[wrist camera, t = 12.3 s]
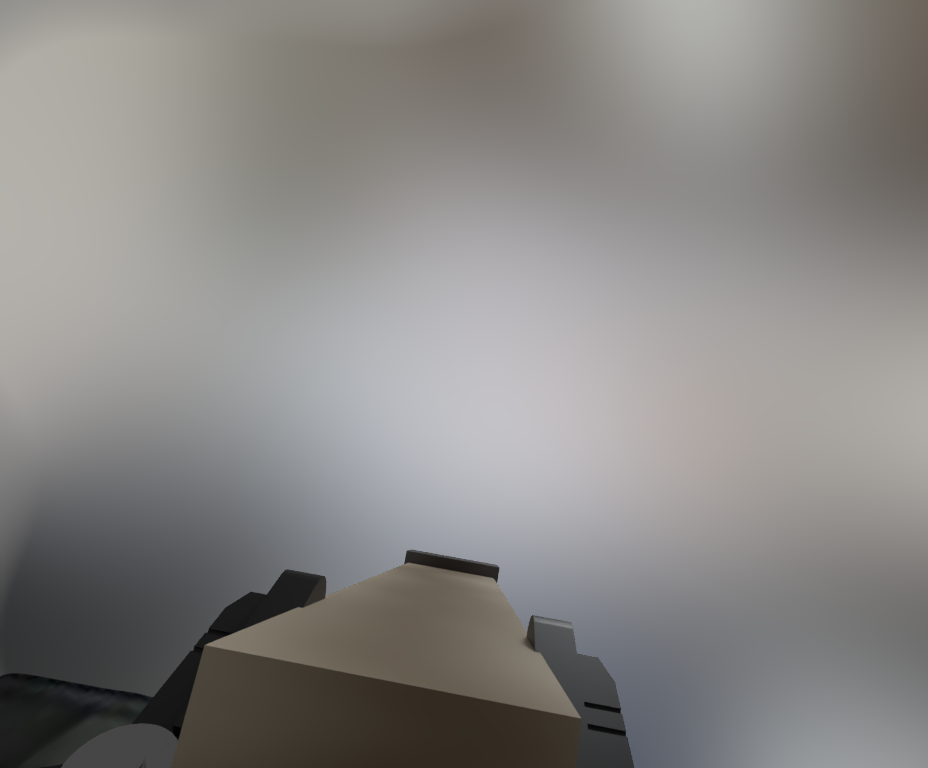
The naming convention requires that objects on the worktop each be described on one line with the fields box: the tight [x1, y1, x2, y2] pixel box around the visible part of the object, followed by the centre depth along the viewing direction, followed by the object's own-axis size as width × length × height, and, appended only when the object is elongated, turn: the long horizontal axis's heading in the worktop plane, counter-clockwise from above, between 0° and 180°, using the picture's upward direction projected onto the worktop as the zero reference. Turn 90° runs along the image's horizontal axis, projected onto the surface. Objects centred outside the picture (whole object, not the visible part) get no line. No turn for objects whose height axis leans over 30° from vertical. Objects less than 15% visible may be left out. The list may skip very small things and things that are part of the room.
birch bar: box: [171, 550, 581, 768], centre depth 16 cm, size 4×23×4 cm, turn 178°
